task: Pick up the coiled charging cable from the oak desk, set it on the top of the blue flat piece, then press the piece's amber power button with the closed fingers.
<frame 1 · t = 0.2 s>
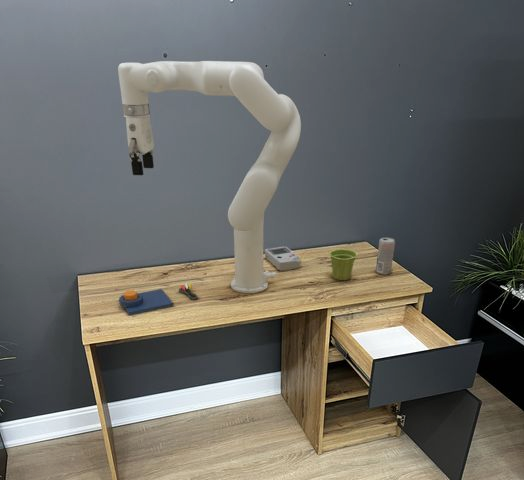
hand: (143, 171, 159), 37 cm above the table, tool pointing down, fingers open, 9 cm apart
composite cable: (187, 295, 169), on the table
energy drink: (383, 272, 185), on the table
handheld gaming device: (282, 263, 192), on the table
blue flat piece: (146, 303, 163), on the table
plant pot: (341, 277, 181), on the table
power button: (130, 295, 160), point 4 cm above the table, slide at 0.1 cm
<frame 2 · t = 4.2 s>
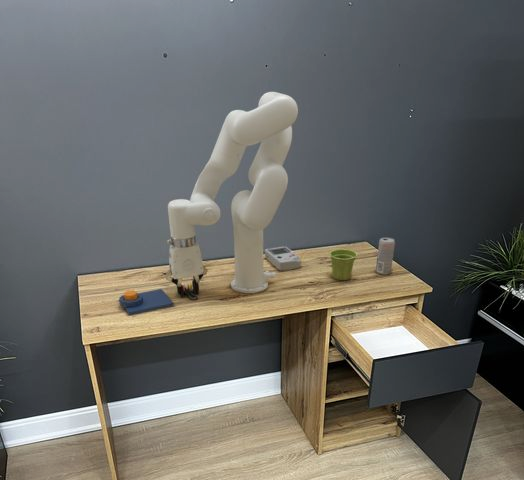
hand: (188, 294, 169), 0 cm above the table, tool pointing down, fingers closed on composite cable, 4 cm apart
composite cable: (187, 295, 169), on the table, touching gripper
everything else where it was.
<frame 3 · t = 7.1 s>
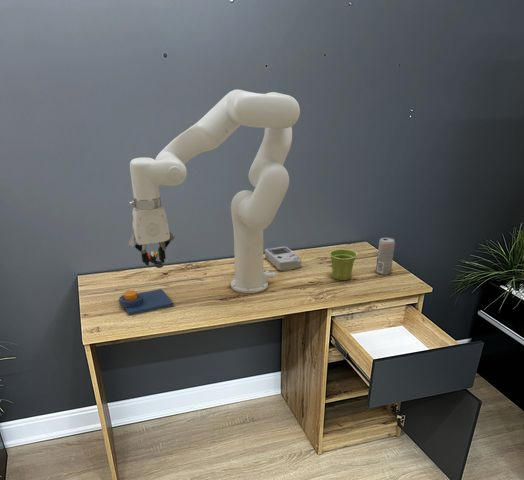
hand: (154, 262, 158), 13 cm above the table, tool pointing down, fingers closed on composite cable, 4 cm apart
composite cable: (153, 263, 158), point 13 cm above the table, touching gripper
everything else where it was.
when the fingers open (1 cm above the table, at t = 10.0 s): composite cable stays where it is, resting on blue flat piece.
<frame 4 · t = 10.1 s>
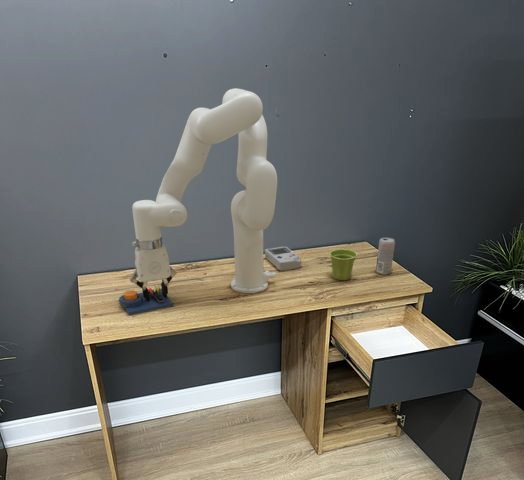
hand: (156, 297, 164), 1 cm above the table, tool pointing down, fingers open, 5 cm apart
composite cable: (155, 298, 164), point 1 cm above the table, touching blue flat piece
everything else where it was.
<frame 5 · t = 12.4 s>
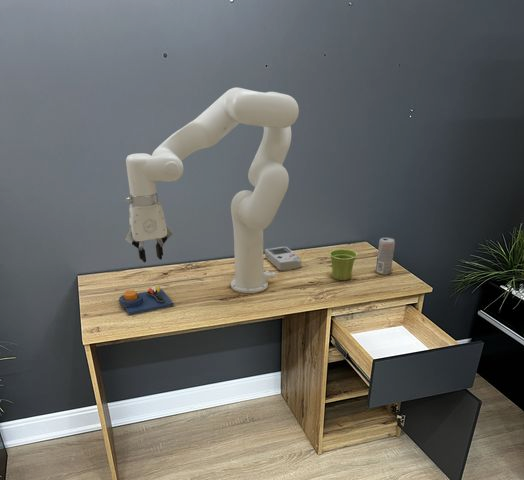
hand: (151, 258, 157), 14 cm above the table, tool pointing down, fingers open, 4 cm apart
nothing on the table moved.
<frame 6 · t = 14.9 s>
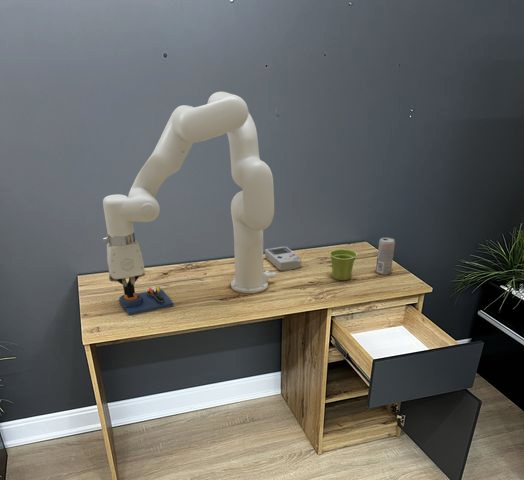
hand: (129, 295, 160), 4 cm above the table, tool pointing down, fingers closed
power button: (131, 298, 160), point 3 cm above the table, slide at -0.8 cm, touching gripper
everything else where it was.
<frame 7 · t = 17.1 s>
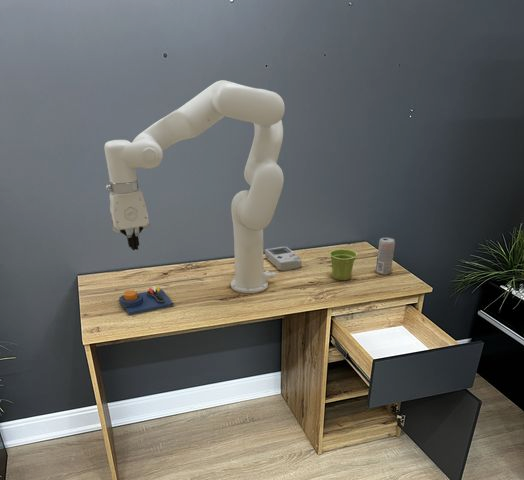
hand: (134, 248, 156), 18 cm above the table, tool pointing down, fingers closed
power button: (130, 295, 160), point 4 cm above the table, slide at 0.1 cm
everything else where it was.
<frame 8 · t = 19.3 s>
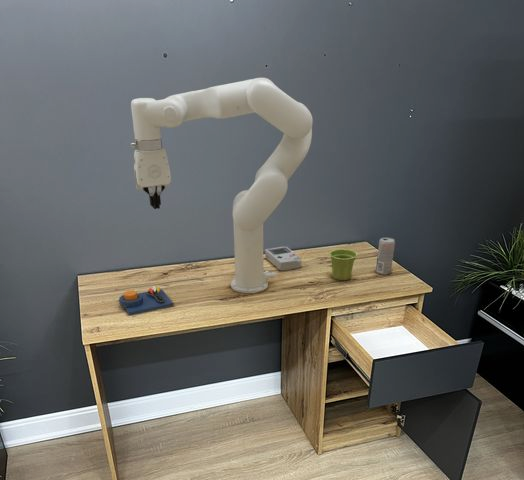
hand: (155, 207, 160), 27 cm above the table, tool pointing down, fingers closed
nothing on the table moved.
at the end: composite cable inside the target area on the blue flat piece (0.2 cm from its centre), point 1.0 cm above the blue flat piece's base; composite cable touching blue flat piece; power button pushed in 1.1 cm at the most during the clip, back to where it started at the end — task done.
